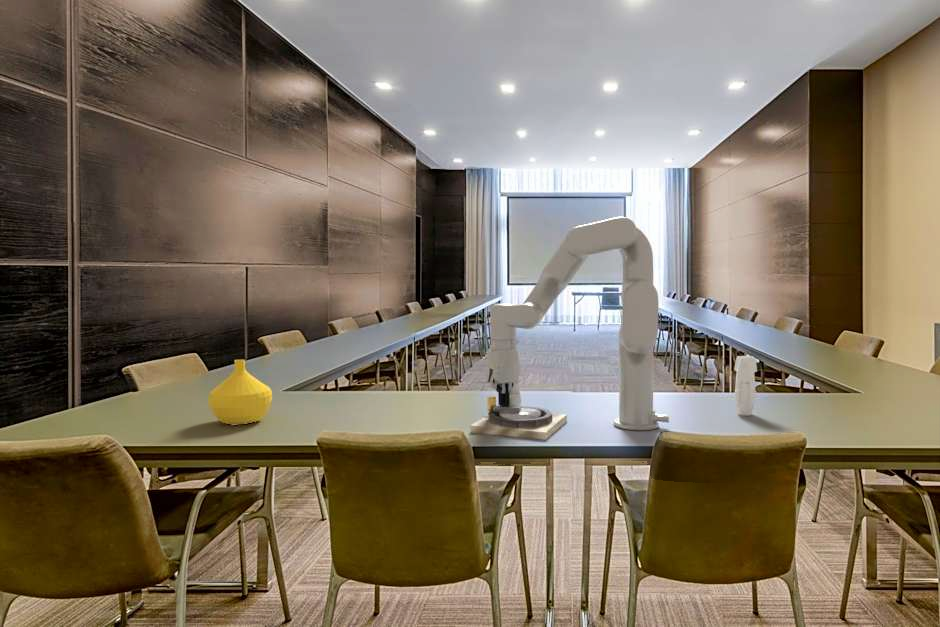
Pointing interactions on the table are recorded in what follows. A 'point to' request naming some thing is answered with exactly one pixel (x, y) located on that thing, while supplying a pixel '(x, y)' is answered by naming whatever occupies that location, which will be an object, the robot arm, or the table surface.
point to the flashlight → (745, 384)
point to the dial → (512, 410)
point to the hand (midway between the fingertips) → (504, 405)
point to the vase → (240, 397)
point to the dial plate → (520, 431)
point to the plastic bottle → (515, 394)
